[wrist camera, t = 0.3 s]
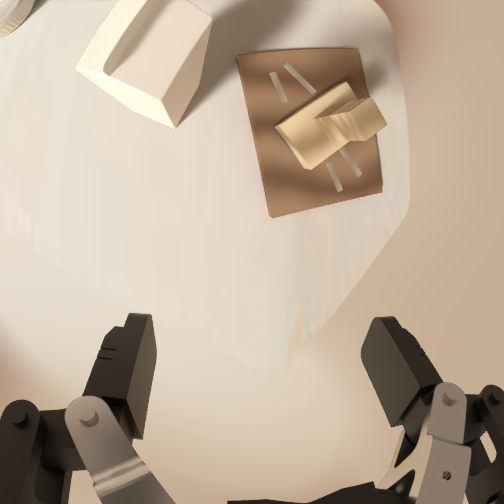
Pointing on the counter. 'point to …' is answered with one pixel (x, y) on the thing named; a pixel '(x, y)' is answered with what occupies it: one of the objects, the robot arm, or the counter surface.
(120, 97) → the milk
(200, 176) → the counter surface
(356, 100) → the block
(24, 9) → the ramekin
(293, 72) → the board
